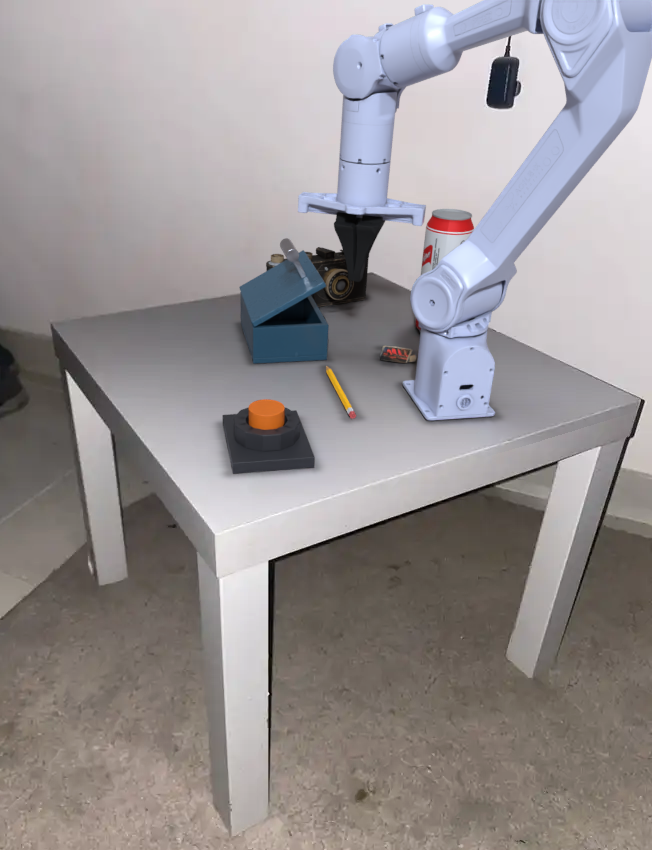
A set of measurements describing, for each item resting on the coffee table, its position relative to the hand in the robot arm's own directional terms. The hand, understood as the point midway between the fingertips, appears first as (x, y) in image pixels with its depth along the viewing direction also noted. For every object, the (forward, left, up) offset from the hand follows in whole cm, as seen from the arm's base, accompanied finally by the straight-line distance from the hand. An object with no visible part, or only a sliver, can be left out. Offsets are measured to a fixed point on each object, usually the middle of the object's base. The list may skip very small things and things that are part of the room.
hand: (355, 278), depth 93 cm
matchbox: (0, -6, -11) cm, 12 cm away
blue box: (+7, +8, -10) cm, 15 cm away
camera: (+20, 0, -11) cm, 22 cm away
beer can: (+8, -14, -11) cm, 19 cm away
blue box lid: (+7, +8, -3) cm, 11 cm away
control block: (-20, +14, -10) cm, 27 cm away
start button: (-20, +14, -8) cm, 26 cm away
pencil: (-9, +4, -11) cm, 14 cm away
